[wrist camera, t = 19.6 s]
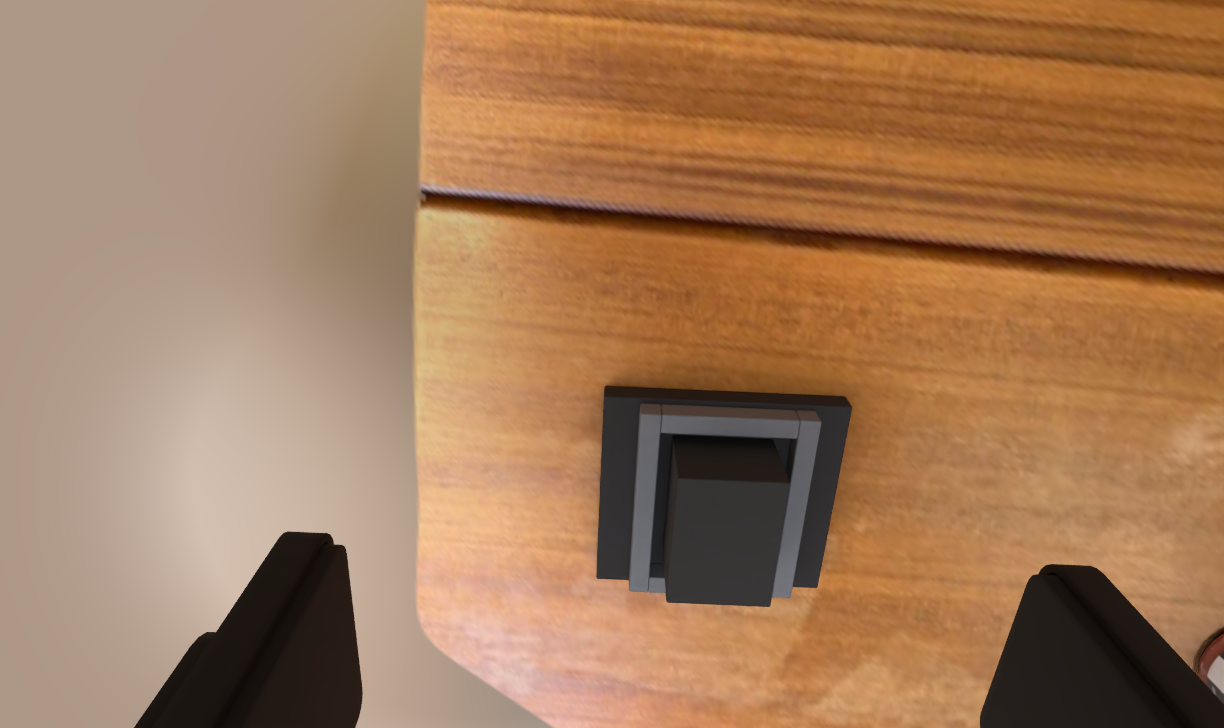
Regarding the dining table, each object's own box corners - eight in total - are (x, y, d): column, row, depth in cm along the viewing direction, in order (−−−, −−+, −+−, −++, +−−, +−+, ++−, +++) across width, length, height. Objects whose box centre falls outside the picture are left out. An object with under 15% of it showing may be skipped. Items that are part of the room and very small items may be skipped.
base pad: (597, 564, 41) (595, 594, 38) (604, 385, 36) (603, 407, 34) (812, 573, 41) (823, 604, 39) (845, 396, 36) (860, 418, 34)
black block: (662, 550, 39) (666, 603, 35) (672, 434, 36) (677, 478, 32) (756, 554, 39) (770, 607, 35) (773, 438, 36) (790, 483, 32)
